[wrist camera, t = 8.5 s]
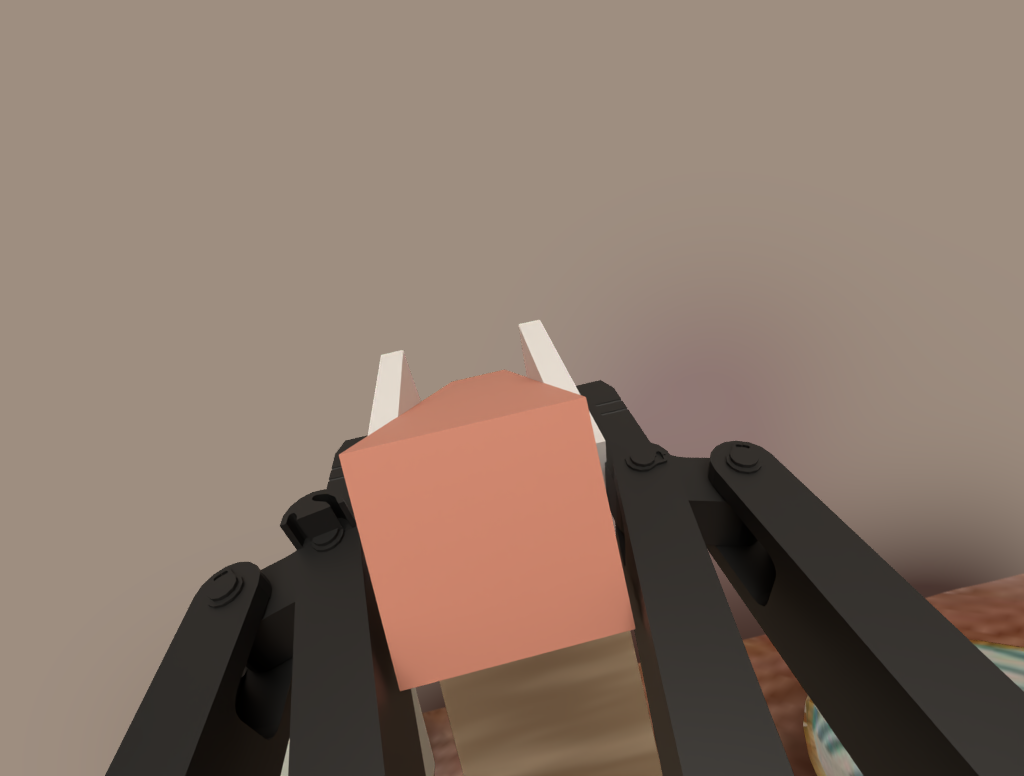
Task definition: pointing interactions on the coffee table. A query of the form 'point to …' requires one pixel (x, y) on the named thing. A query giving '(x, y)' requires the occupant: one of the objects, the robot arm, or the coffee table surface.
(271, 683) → the robot arm
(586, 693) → the birch stand
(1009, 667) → the bowl
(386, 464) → the coral square-faced block
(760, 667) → the coffee table surface
